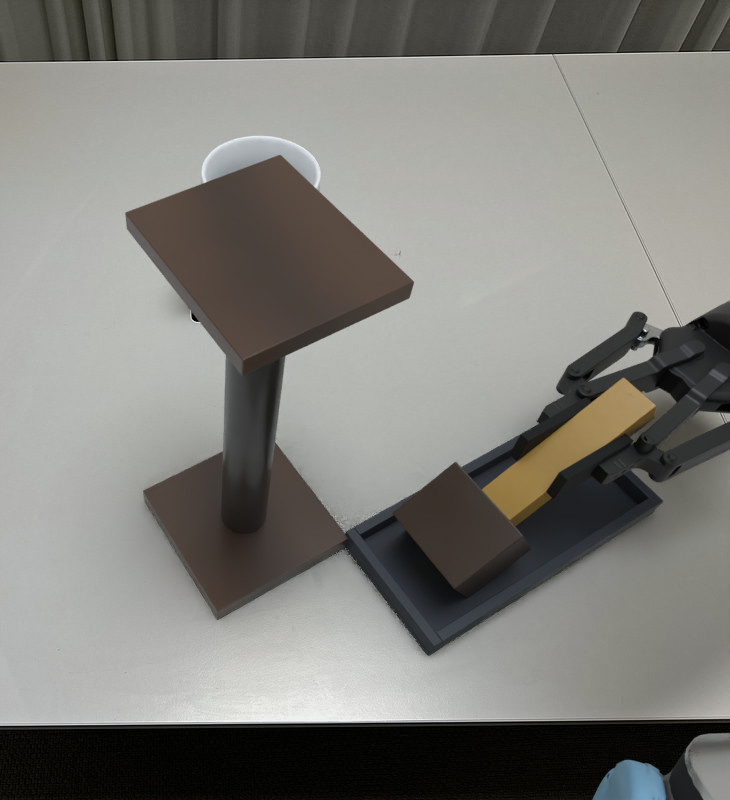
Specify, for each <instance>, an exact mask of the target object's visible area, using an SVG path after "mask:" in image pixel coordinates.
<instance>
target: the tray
mask: <svg viewBox="0 0 730 800" xmlns="http://www.w3.org/2000/svg"><path fill="white" fill-rule="evenodd" d="M519 436H520V434H518V435H516V436H514V437H513V438H511V439H509V440H507V441H506V442H503V443H502V444H500V445H499V446H496V447H495V448H493V449H491V450H489V451H488V452H485V453H484V454H482V455H480V456H478V457H476V458H474V459H473V460H471V461H470V462H468V463H466V464H464V465H463V466H461V468H462V469H463V470H464V471H465V472H466V473H467V474H468V475H469V476H470V477H471V479H472V480H473V481H474V482H475V483H476V484H477V485H478V486H479V487H480V488H481V489H483V488H484V487H485V486H487V485H488V484H489V483H491V482H492V481H493V480H494V479H496V478H497V477H498V476H499V475H501V474H502V473H503V472H504V471H506V470H507V469H508V468H509V467H511V466H512V465H513V464H515V463H516V460H515V459H514V458H513V457H512V456H511V455H510V452H511V450H512V449H513V447H514V445H515V443H516V442H517V440H518V438H519ZM418 491H419V490H417V491H416V492H414V493H412V494H410V495H408V496H407V497H404V498H403V499H401V500H399V501H398V502H396V503H394V504H392V505H390V506H389V507H387V508H385V509H384V510H382V511H379V512H377V513H376V514H374V515H372V516H371V517H369V518H367V519H365V520H364V521H362V522H360V523H358V524H356V525H355V526H353V527H351V528H349V529H348V530H346V531H345V532H344V533H345V535H346V536H347V537H348V542H347V545H346V548H345V549H346V550H347V551H348V552H349V554H350V555H351V556H352V557H353V559H354V560H355V561H356V563H357V564H358V565H359V567H360V568H361V570H362V571H363V572H364V573H365V575H366V576H367V577H368V579H369V580H370V581H371V583H372V584H373V585H374V586H375V588H376V589H377V590H378V592H379V593H380V595H381V596H382V597H383V598H384V600H385V602H386V603H387V604H388V605H389V606H390V608H391V609H392V610H393V612H394V613H395V614H396V616H397V617H398V619H399V620H400V621H401V622H402V624H403V625H404V626H405V628H406V629H407V630H408V632H409V633H410V634H411V636H412V637H413V638H414V639H415V641H416V642H417V644H419V646H420V648H421V649H422V650H423V651H424V653H425V654H426V655H427V656H428V657H429V656H431V655H432V654H434V653H435V652H437V651H439V650H441V649H442V648H443V647H445V646H447V645H448V644H450V643H451V642H453V641H454V640H456V639H458V638H459V637H461V636H463V635H464V634H465V633H467V632H469V631H470V630H472V629H473V628H475V627H476V626H479V624H481V623H483V622H484V621H486V620H488V619H489V618H490V617H492V616H494V615H495V614H497V613H498V612H500V611H502V610H503V609H505V608H506V607H508V606H510V605H511V604H512V603H514V602H516V601H517V600H519V599H520V598H522V597H523V596H525V595H527V594H528V593H530V592H531V591H533V590H534V589H536V588H538V587H539V586H540V585H542V584H544V583H546V582H547V581H549V580H550V579H552V578H553V577H555V576H556V575H558V574H559V573H561V572H563V571H564V570H566V569H568V568H569V567H571V566H572V565H574V564H575V563H577V562H578V561H581V560H582V559H583V558H584V557H586V556H588V555H589V554H591V553H592V552H594V551H596V550H597V549H599V548H600V547H602V546H604V545H605V544H606V543H608V542H610V541H611V540H613V539H614V538H616V537H618V536H619V535H621V534H623V533H624V532H625V531H627V530H628V529H630V528H631V527H633V526H635V525H636V524H637V523H639V522H641V521H643V520H644V519H646V518H647V517H649V516H651V515H652V514H653V513H654V512H655V511H656V510H657V509H658V508H659V507H660V506H661V504H663V503H664V500H663V499H662V498H661V497H660V496H659V495H658V494H657V493H656V492H655V491H653V489H652V488H650V487H649V486H648V485H647V484H646V483H645V482H644V481H643V480H642V479H641V478H639V476H638V475H637V474H636V473H634V472H633V470H632V469H631V470H630V471H628V472H626V473H625V474H623V475H621V476H620V477H618V478H617V479H615V480H613V481H612V482H610V483H608V484H602V485H601V484H600V483H599V482H598V481H597V480H596V479H595V478H594V477H593V476H592V477H590V478H589V479H587V480H585V481H584V482H582V483H580V484H579V485H577V486H575V487H574V488H572V489H570V490H569V491H567V492H565V493H564V494H562V495H560V496H559V497H557V498H555V499H554V500H553V499H552V498H551V499H550V500H549V501H547V502H546V503H545V504H544V505H542V506H541V507H540V508H538V509H537V510H536V511H535V512H533V513H532V514H531V515H529V516H528V517H527V518H526V519H524V520H523V521H522V522H520V523H519V524H518V525H516V526H515V527H516V528H517V529H518V530H519V531H520V532H521V533H522V534H523V536H524V537H525V539H526V541H527V543H528V544H529V546H530V548H531V550H530V551H529V552H527V553H526V554H525V555H523V556H522V557H521V558H519V559H518V560H517V561H516V562H514V563H513V564H512V565H510V566H509V567H508V568H506V569H505V570H504V571H503V572H501V573H500V574H499V575H497V576H496V577H495V578H493V579H492V580H491V581H490V582H488V583H487V584H486V585H484V586H483V587H482V588H480V589H479V590H478V591H477V592H475V593H474V594H473V595H471V596H470V597H469V598H467V597H466V596H464V595H463V594H461V593H460V592H458V591H456V590H455V589H454V588H453V587H452V586H451V585H450V584H449V582H448V581H447V580H446V579H445V577H444V576H443V575H442V574H441V573H440V571H439V570H438V569H437V568H436V566H435V565H434V564H433V563H432V562H431V560H430V559H429V558H428V557H427V555H426V554H425V553H424V552H423V551H422V549H421V548H420V547H419V546H418V544H417V543H416V542H415V541H414V540H413V538H412V537H411V536H410V535H409V533H408V532H407V531H406V530H405V529H404V527H403V526H402V525H401V524H400V522H399V521H398V520H397V519H396V518H395V516H394V515H393V514H392V512H393V511H395V510H396V509H397V508H398V507H400V506H401V505H402V504H403V503H405V502H406V501H407V500H408V499H409V498H411V497H412V496H413V495H414V494H416V493H417V492H418Z"/></svg>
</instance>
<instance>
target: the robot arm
mask: <svg viewBox="0 0 730 800" xmlns="http://www.w3.org/2000/svg"><path fill="white" fill-rule="evenodd" d="M647 321H648V315H647V314H646V313H644V312H643V311H633V312H632V313H631V315H630V316H629V318H628V320H627V321H626V322H625V325H624V326H623V328H621V329H619V331H617V332H615V333H614V334H613V335H611V336H609V337H608V338H607V339H605V340H604V341H602V342H601V343H599V344H598V345H596V346H595V347H593V348H591V349H590V350H589V351H588V352H586V353H584V354H583V355H581V356H580V357H579V358H577V359H576V360H574V361H573V362H571V363H569V364H568V365H567V366H566V368H565V370H564V372H563V373H562V375H561V377H560V379H559V380H558V382H557V384H556V386H555V389H556V391H557V393H559V394H560V395H563V396H561V397H559V398H557V399H556V400H553V401H552V402H550V403H548V404H546V405H545V406H544V408H543V410H542V411H541V413H540V414H539V417H538V418H537V419H536V423H537V424H536V425H534V426H532V427H530V428H529V429H527V430H525V431H523V432H522V433H520V434H519V435H520V436H519V438H518V440H517V442H516V443H515V445H514V447H513V449H512V450H511V452H510V455H511V456H512V457H513V458H514V459H515V460H516V462H517V461H518V460H520V459H521V458H522V457H523V456H525V455H526V454H527V453H528V452H530V451H531V450H532V449H533V448H535V447H536V446H537V445H539V444H540V443H541V442H542V441H544V440H545V439H546V438H547V437H549V436H550V435H551V434H552V433H554V432H555V431H556V430H557V429H559V428H560V427H561V426H563V425H564V424H565V423H566V422H568V421H569V420H570V419H571V418H573V417H574V416H575V415H576V414H578V413H579V412H580V411H581V410H583V409H584V408H585V407H586V406H588V405H589V404H590V403H592V402H593V401H594V400H595V399H597V398H598V397H599V396H600V395H602V394H603V393H604V392H605V391H607V390H608V389H609V388H610V387H612V386H613V385H614V384H616V383H617V382H618V381H619V380H621V379H622V378H625V379H626V380H627V381H628V382H630V383H631V384H632V385H633V386H634V387H635V388H637V389H638V390H639V391H640V392H641V393H645V394H648V393H651V392H654V391H656V390H659V389H660V390H662V391H664V392H666V393H667V394H669V396H671V398H672V399H673V400H674V401H675V402H676V403H675V404H674V405H673V406H672V407H671V408H669V409H668V410H667V411H665V412H664V414H662V416H660V418H658V419H657V420H656V421H655V422H654V423H653V424H652V425H650V426H649V427H648V428H647V429H646V430H645V431H643V432H641V434H640V435H639V436H638V437H637V439H636V440H635V441H634V439H633V438H632V437H629V436H628V435H627V434H626V433H625V434H623V435H622V436H620V437H618V438H617V439H615V440H613V441H612V442H610V443H608V444H606V445H605V446H603V447H601V448H599V449H598V450H596V451H594V452H593V453H591V454H589V455H588V456H586V457H584V458H582V459H581V460H579V461H577V462H576V463H574V464H572V465H571V466H569V467H567V468H566V469H564V470H562V471H560V472H559V473H558V475H557V476H556V478H555V479H554V481H553V482H552V484H551V485H550V487H549V488H548V489H547V491H546V492H547V493H548V495H549V496H550V497H551V498H552V499H553V500H554V499H555V498H557V497H559V496H560V495H562V494H564V493H565V492H567V491H569V490H570V489H572V488H574V487H575V486H577V485H579V484H580V483H582V482H584V481H585V480H587V479H589V478H590V477H592V476H593V477H594V478H595V479H596V480H597V481H598V482H599V483H600V484H601V485H602V484H608V483H610V482H612V481H613V480H615V479H617V478H618V477H620V476H621V475H623V474H625V473H626V472H628V471H630V470H631V471H632V470H633V469H638V470H642V471H644V472H646V473H647V475H648V478H649V479H650V480H652V481H653V482H655V483H659V484H661V483H664V482H666V481H668V480H670V479H673V478H674V477H676V476H679V475H681V474H683V473H685V472H686V471H687V472H688V471H689V470H691V469H693V468H695V467H697V466H699V465H702V464H703V463H705V462H707V461H709V460H711V459H714V458H715V457H718V456H720V455H722V454H724V453H726V452H728V451H730V420H729V421H727V422H725V423H722V424H721V425H719V426H716V427H713V429H710V430H708V431H705V432H704V433H702V434H700V435H697V436H695V437H693V438H692V439H689V440H687V441H684V442H683V443H680V444H678V445H676V446H674V447H672V448H670V449H668V450H666V451H663V450H662V449H659V448H660V447H661V446H663V445H664V444H665V443H666V442H667V441H668V440H669V439H670V438H671V437H672V436H673V435H674V434H675V433H677V431H679V429H681V428H682V427H683V426H684V425H686V424H687V423H688V422H689V421H690V420H691V419H692V418H693V417H694V416H695V415H697V414H698V413H699V412H704V413H716V414H717V413H719V414H730V299H729V300H727V301H725V302H724V303H721V304H719V305H718V306H715V307H714V308H713V309H711V310H709V311H707V312H705V313H703V314H701V315H699V316H698V317H696V318H694V319H692V320H691V321H690V322H688V323H685V324H684V325H681V326H669V327H667V328H664V329H661V328H658V327H657V326H654V325H651V324H649V323H647ZM647 345H651V346H653V351H652V356H651V357H650V358H649V359H648V360H645V361H643V362H640V363H636V364H634V365H631V366H629V367H625V368H623V369H622V368H621V369H620V370H616V371H614V372H612V373H609V374H605V375H603V376H600V377H597V376H598V375H600V374H601V373H602V372H604V371H605V370H607V369H608V368H610V367H611V366H612V365H614V364H615V363H617V362H618V361H620V360H621V359H623V358H624V357H625V356H626V355H627V354H628V353H629V352H630V350H631V351H632V352H633V351H634V352H635V351H638V349H642V348H644V347H645V346H647ZM595 377H596V378H595ZM591 800H730V732H721V733H720V732H719V733H705V734H700V735H698V736H696V737H694V738H693V739H692V740H691V741H690V742H689V744H688V745H687V747H686V748H685V750H684V751H683V753H682V754H681V755H680V757H679V758H678V760H677V762H676V763H675V765H674V766H673V767H672V769H671V771H670V772H669V773H667V774H662V773H661V772H660V769H659V768H657V767H656V766H654V765H652V764H650V763H647V762H645V763H643V762H641V761H636V760H632V759H624V760H622V761H620V762H617V763H616V765H615V767H613V768H611V769H610V770H609V771H608V772H607V773H606V774H605V775H604V777H603V779H602V780H601V782H600V783H599V786H598V787H597V789H596V792H595V794H594V795H593V798H592V799H591Z"/></svg>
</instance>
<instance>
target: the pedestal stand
mask: <svg viewBox="0 0 730 800" xmlns="http://www.w3.org/2000/svg"><path fill="white" fill-rule="evenodd" d="M124 215H125V216H124V217H125V225H126V230H127V232H128V233H129V234H130V235H131V237H132V238H133V239H134V241H135V242H136V243H137V245H139V247H140V248H141V249H142V251H143V252H144V253H145V255H146V256H147V257H148V258H149V259H150V261H151V262H152V263H153V264H154V266H155V267H156V268H157V270H158V271H159V272H160V273H161V275H162V276H163V277H164V278H165V280H166V281H167V282H168V284H169V285H170V286H171V288H172V289H173V290H174V291H175V292H176V294H177V295H178V296H179V298H180V299H181V300H182V302H183V303H184V304H185V305H186V306H187V308H188V309H189V310H190V312H191V313H192V314H193V315H194V317H195V318H196V319H197V321H198V322H199V323H200V324H201V326H202V327H203V328H204V329H205V331H206V332H207V334H208V335H209V336H210V337H211V338H212V340H213V341H214V342H215V344H216V345H217V346H218V347H219V348H220V350H221V351H222V353H223V354H224V355H225V364H224V365H225V366H224V368H225V369H224V403H223V408H224V409H223V433H222V434H223V436H222V451H220V452H218V453H216V454H214V455H213V456H210V457H208V458H206V459H204V460H201V461H200V462H198V463H196V464H194V465H192V466H190V467H188V468H186V469H184V470H182V471H179V472H178V473H176V474H174V475H172V476H170V477H167V478H165V479H163V480H162V481H160V482H157V483H155V484H153V485H151V486H149V487H147V488H145V489H143V490H142V494H143V500H144V502H145V504H146V505H147V507H148V508H149V511H150V512H151V514H152V516H153V518H155V520H156V521H157V524H158V525H159V527H160V529H161V530H162V532H163V533H164V535H165V537H166V538H167V540H168V542H169V543H170V545H171V547H172V548H173V549H174V552H175V553H176V555H177V556H178V558H179V560H180V561H181V563H182V564H183V566H184V568H185V569H186V571H187V573H188V574H189V576H190V578H191V579H192V581H193V582H194V584H195V586H196V588H197V589H198V590H199V592H200V594H201V596H202V597H203V599H204V600H205V602H206V604H207V605H208V607H209V608H210V610H211V612H212V613H213V615H214V617H215V618H216V620H220V619H222V618H224V617H225V616H227V615H229V614H230V613H232V612H234V611H236V610H237V609H239V608H241V607H243V606H244V605H247V604H248V603H251V602H252V601H254V600H255V599H257V598H259V597H261V596H263V595H264V594H266V593H269V591H271V590H274V589H275V588H277V587H278V586H280V585H282V584H284V583H286V582H287V581H289V580H291V579H292V578H294V577H296V576H298V575H300V574H302V573H303V572H305V571H307V570H308V569H310V568H312V567H314V566H316V565H317V564H319V563H321V562H322V561H324V560H327V559H328V558H330V557H331V556H333V555H335V554H337V553H339V552H340V551H343V550H344V549H347V548H346V545H347V542H348V537H347V536H346V535H345V533H346V532H345V531H344V530H343V528H342V527H341V526H340V524H339V523H338V522H337V521H336V519H335V518H334V517H333V515H332V514H331V513H330V512H329V510H328V509H327V508H326V506H325V505H324V503H322V501H321V499H320V498H319V497H318V496H317V494H316V493H315V492H314V491H313V489H312V488H311V487H310V486H309V484H308V482H306V480H305V479H304V478H303V476H302V475H301V474H300V472H299V471H298V470H297V469H296V467H295V466H294V465H293V463H292V462H291V461H290V459H289V458H288V457H287V456H286V454H285V453H284V452H283V451H282V449H281V447H279V445H278V443H277V442H276V439H277V431H278V421H279V414H280V406H281V405H280V404H281V399H282V398H281V397H282V391H283V390H282V389H283V383H284V382H283V381H284V373H285V365H286V356H289V355H291V354H293V353H295V352H297V351H299V350H302V349H304V348H306V347H308V346H311V345H313V344H314V343H317V342H320V341H321V340H323V339H325V338H327V337H329V336H332V335H334V334H336V333H338V332H340V331H342V330H345V329H347V328H349V327H351V326H353V325H355V324H357V323H360V322H362V321H364V320H366V319H368V318H371V317H373V316H375V315H376V314H379V313H381V312H383V311H385V310H387V309H390V308H392V307H394V306H397V305H398V304H401V303H402V302H405V301H407V300H409V299H410V298H411V295H412V291H413V289H414V285H415V281H414V279H412V278H411V276H409V275H408V274H407V273H406V272H405V271H404V270H403V269H402V268H400V267H399V265H397V263H395V262H394V261H393V260H392V259H391V258H390V257H389V256H388V255H387V254H386V253H385V252H384V251H383V250H382V249H380V247H378V245H376V244H375V243H374V242H373V241H372V240H371V239H370V238H369V237H368V236H367V235H366V234H365V233H364V232H363V231H361V229H359V228H358V227H357V226H356V224H354V223H353V222H352V221H351V220H350V219H349V218H348V217H347V216H346V215H345V214H343V212H342V211H341V210H340V209H339V208H337V206H336V205H334V204H333V202H331V201H330V200H329V199H328V198H326V196H324V195H323V193H322V192H321V191H318V190H317V189H316V188H315V187H314V186H313V185H312V184H311V183H310V182H309V181H308V180H307V179H306V178H305V177H303V176H302V175H301V174H300V173H299V172H298V171H297V170H296V169H295V168H294V167H293V166H292V165H291V164H290V163H289V162H288V161H287V160H286V159H285V158H283V157H282V156H281V155H278V156H275V157H272V158H270V159H267V160H264V161H262V162H259V163H256V164H254V165H251V166H248V167H245V168H243V169H240V170H237V171H235V172H232V173H229V174H227V175H224V176H221V177H219V178H216V179H213V180H211V181H208V182H205V183H203V184H201V183H200V184H198V185H196V186H192V187H190V188H186V189H184V190H181V191H178V192H175V193H174V194H171V195H168V196H165V197H162V198H160V199H158V200H154V201H152V202H150V203H146V204H144V205H141V206H139V207H136V208H134V209H131V210H128V211H125V212H124Z"/></svg>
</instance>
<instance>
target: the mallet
mask: <svg viewBox="0 0 730 800" xmlns="http://www.w3.org/2000/svg"><path fill="white" fill-rule="evenodd" d="M656 410H657V405H656V403H654V402H653V401H651V399H649V398H648V397H647V396H646V395H645V394H644V393H643V392H640V391H639V390H638V389H637V388H635V387H634V386H633V385H632V384H631V383H630V382H628V381H627V380H626V379H625V378H622V379H621V380H619V381H618V382H617V383H616V384H614V385H613V386H612V387H610V388H609V389H608V390H607V391H605V392H604V393H603V394H602V395H600V396H599V397H598V398H597V399H595V400H594V401H593V402H592V403H590V404H589V405H588V406H586V407H585V408H584V409H583V410H581V411H580V412H579V413H578V414H576V415H575V416H574V417H573V418H571V419H570V420H569V421H568V422H566V423H565V424H564V425H563V426H561V427H560V428H559V429H557V430H556V431H555V432H554V433H552V434H551V435H550V436H549V437H547V438H546V439H545V440H544V441H542V442H541V443H540V444H539V445H537V446H536V447H535V448H533V449H532V450H531V451H530V452H528V453H527V454H526V455H525V456H523V457H522V458H521V459H520V460H518V461H517V462H516V463H515V464H513V465H512V466H511V467H509V468H508V469H507V470H506V471H504V472H503V473H502V474H501V475H499V476H498V477H497V478H496V479H494V480H493V481H492V482H491V483H489V484H488V485H487V486H485V487H484V488H483V489H481V488H480V487H479V486H478V485H477V484H476V483H475V482H474V481H473V480H472V479H471V477H470V476H469V475H468V474H467V473H466V472H465V471H464V470H463V469H462V468H461V467H462V466H461V465H460V464H459V463H458V462H457V461H454V462H453V463H451V464H450V465H449V466H448V467H446V468H445V469H444V470H443V471H441V473H439V474H438V475H436V476H435V477H434V478H433V479H432V480H431V481H429V482H428V483H427V484H426V485H424V486H423V487H422V488H420V489H419V490H417V491H418V492H417V491H416V492H417V493H416V492H415V493H416V494H414V493H413V494H414V495H413V496H412V497H411V498H409V499H408V500H407V501H406V502H405V503H403V504H402V505H401V506H400V507H398V508H397V509H396V510H395V511H393V512H392V514H393V515H394V516H395V518H396V519H397V520H398V521H399V522H400V524H401V525H402V526H403V527H404V529H405V530H406V531H407V532H408V533H409V535H410V536H411V537H412V538H413V540H414V541H415V542H416V543H417V544H418V546H419V547H420V548H421V549H422V551H423V552H424V553H425V554H426V555H427V557H428V558H429V559H430V560H431V562H432V563H433V564H434V565H435V566H436V568H437V569H438V570H439V571H440V573H441V574H442V575H443V576H444V577H445V579H446V580H447V581H448V582H449V584H450V585H451V586H452V587H453V588H454V589H455V590H456V591H458V592H460V593H461V594H463V595H464V596H466V597H467V598H469V597H470V596H471V595H473V594H474V593H475V592H477V591H478V590H479V589H480V588H482V587H483V586H484V585H486V584H487V583H488V582H490V581H491V580H492V579H493V578H495V577H496V576H497V575H499V574H500V573H501V572H503V571H504V570H505V569H506V568H508V567H509V566H510V565H512V564H513V563H514V562H516V561H517V560H518V559H519V558H521V557H522V556H523V555H525V554H526V553H527V552H529V551H530V550H531V548H530V546H529V544H528V543H527V541H526V539H525V537H524V536H523V534H522V533H521V532H520V531H519V530H518V529H517V528H516V527H515V526H516V525H518V524H519V523H520V522H522V521H523V520H524V519H526V518H527V517H528V516H529V515H531V514H532V513H533V512H535V511H536V510H537V509H538V508H540V507H541V506H542V505H544V504H545V503H546V502H547V501H549V500H550V499H551V497H550V496H549V495H548V493H547V492H546V491H547V489H548V488H549V487H550V485H551V484H552V482H553V481H554V479H555V478H556V476H557V475H558V473H559V472H560V471H562V470H564V469H566V468H567V467H569V466H571V465H572V464H574V463H576V462H577V461H579V460H581V459H582V458H584V457H586V456H588V455H589V454H591V453H593V452H594V451H596V450H598V449H599V448H601V447H603V446H605V445H606V444H608V443H610V442H612V441H613V440H615V439H617V438H618V437H620V436H622V435H623V434H625V433H626V434H627V435H628V436H629V437H630V438H632V436H633V435H635V434H637V433H638V432H639V431H640V430H642V429H643V428H645V426H647V425H648V424H649V423H650V422H652V421H653V420H654V419H655V417H656Z"/></svg>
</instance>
